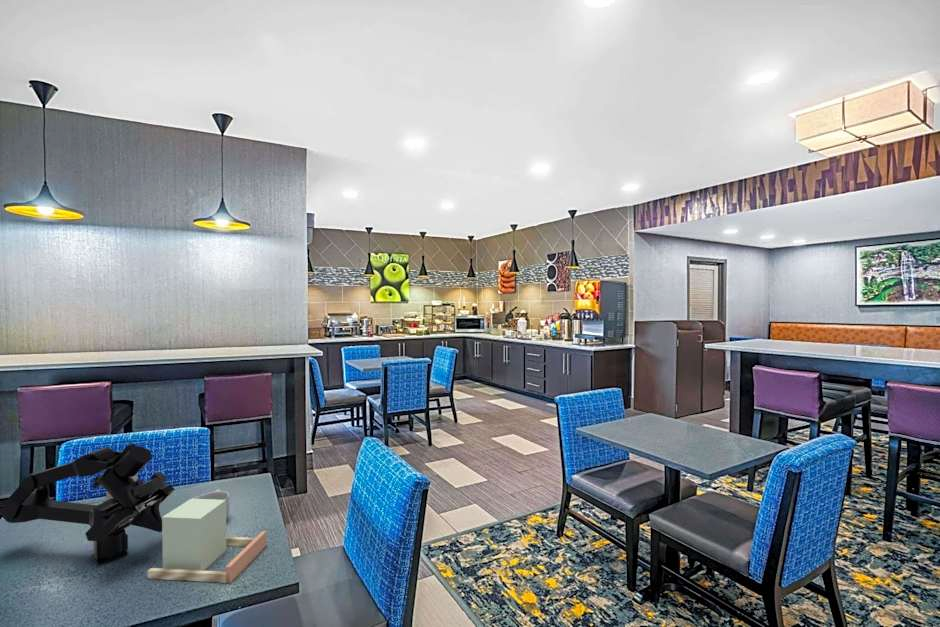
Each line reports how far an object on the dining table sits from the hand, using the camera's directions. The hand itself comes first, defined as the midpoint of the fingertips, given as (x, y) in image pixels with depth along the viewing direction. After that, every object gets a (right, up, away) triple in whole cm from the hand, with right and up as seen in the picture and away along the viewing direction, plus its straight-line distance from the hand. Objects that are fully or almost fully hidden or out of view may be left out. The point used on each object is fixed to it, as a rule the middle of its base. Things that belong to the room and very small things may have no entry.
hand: (162, 530), depth 124 cm
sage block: (+9, -8, 0) cm, 12 cm away
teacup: (+1, -7, +21) cm, 23 cm away
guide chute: (+13, -8, -1) cm, 15 cm away
